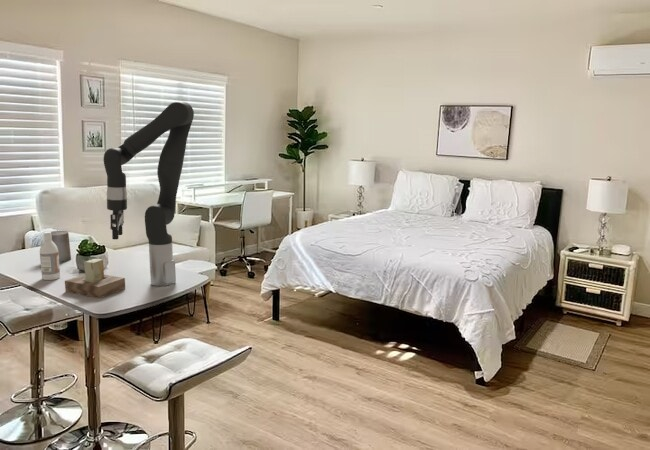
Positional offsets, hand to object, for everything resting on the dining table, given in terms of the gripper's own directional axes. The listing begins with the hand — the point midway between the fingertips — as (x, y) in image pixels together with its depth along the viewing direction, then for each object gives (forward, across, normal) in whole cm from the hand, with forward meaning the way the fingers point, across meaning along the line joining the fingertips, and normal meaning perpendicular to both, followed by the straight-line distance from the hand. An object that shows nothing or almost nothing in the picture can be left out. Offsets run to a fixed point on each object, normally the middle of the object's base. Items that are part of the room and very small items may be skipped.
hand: (117, 237), depth 209 cm
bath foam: (+21, +12, +29) cm, 38 cm away
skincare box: (+20, -9, +7) cm, 23 cm away
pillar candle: (+22, +44, +35) cm, 60 cm away
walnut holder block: (+20, -9, +7) cm, 23 cm away
